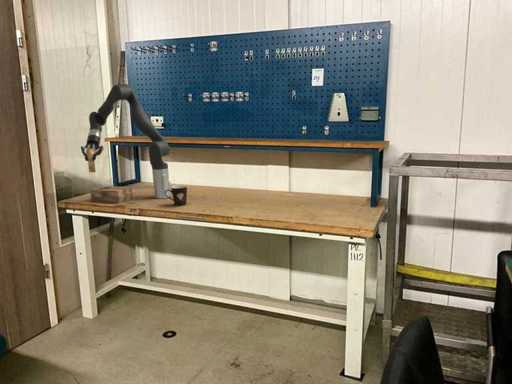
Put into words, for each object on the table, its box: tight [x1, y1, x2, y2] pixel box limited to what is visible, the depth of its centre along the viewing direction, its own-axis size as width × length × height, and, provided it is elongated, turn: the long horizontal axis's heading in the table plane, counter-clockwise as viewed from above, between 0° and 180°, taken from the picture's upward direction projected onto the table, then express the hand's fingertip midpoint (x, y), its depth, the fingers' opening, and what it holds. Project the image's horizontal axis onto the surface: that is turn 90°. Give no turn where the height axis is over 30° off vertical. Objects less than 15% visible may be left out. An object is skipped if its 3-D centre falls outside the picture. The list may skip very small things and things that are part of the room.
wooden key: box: [86, 149, 96, 173], centre depth 249 cm, size 4×4×14 cm
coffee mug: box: [165, 184, 188, 207], centre depth 225 cm, size 12×9×10 cm
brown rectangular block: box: [89, 185, 133, 204], centre depth 242 cm, size 12×20×7 cm, turn 69°
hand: (89, 160), depth 247 cm, fingers closed on wooden key, 3 cm apart
